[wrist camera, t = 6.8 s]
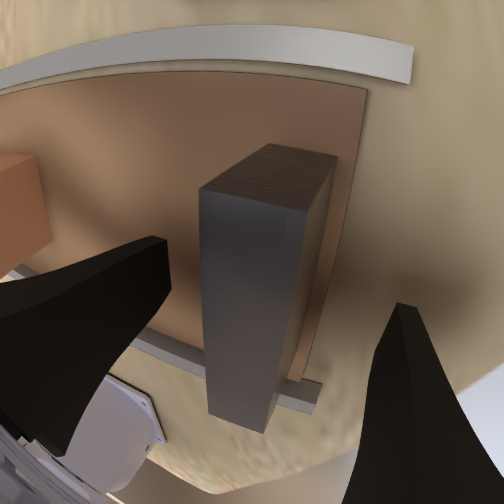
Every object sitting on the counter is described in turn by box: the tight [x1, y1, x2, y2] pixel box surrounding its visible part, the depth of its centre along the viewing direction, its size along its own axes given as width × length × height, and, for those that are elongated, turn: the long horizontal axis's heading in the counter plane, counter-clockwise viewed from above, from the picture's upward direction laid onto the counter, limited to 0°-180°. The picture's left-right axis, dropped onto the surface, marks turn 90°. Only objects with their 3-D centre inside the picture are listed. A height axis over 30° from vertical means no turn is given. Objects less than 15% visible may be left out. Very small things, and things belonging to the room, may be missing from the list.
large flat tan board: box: [0, 71, 367, 434], centre depth 12 cm, size 12×24×4 cm, turn 86°
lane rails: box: [0, 25, 414, 414], centre depth 15 cm, size 15×36×1 cm, turn 86°
